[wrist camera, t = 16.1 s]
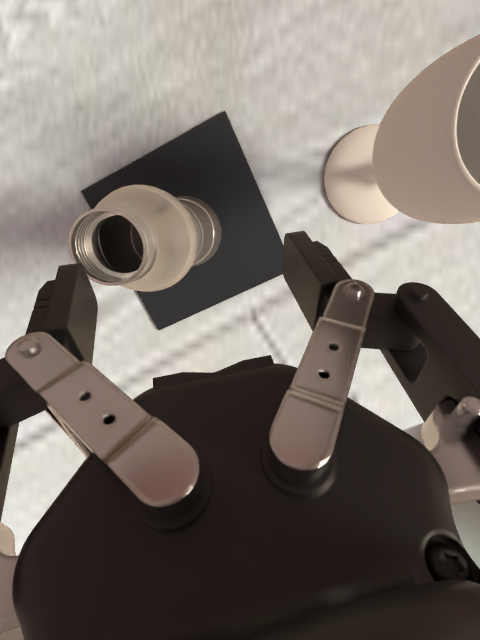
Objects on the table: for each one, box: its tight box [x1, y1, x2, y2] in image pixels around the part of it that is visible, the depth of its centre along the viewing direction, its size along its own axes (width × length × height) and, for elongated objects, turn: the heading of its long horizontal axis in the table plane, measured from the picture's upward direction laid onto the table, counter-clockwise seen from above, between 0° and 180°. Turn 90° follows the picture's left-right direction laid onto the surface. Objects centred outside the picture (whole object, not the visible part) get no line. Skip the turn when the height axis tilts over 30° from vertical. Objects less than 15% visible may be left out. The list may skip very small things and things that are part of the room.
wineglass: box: [324, 35, 480, 224], centre depth 23 cm, size 9×9×21 cm
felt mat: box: [81, 111, 284, 330], centre depth 35 cm, size 16×16×1 cm
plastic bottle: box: [68, 185, 221, 292], centre depth 26 cm, size 6×7×20 cm
